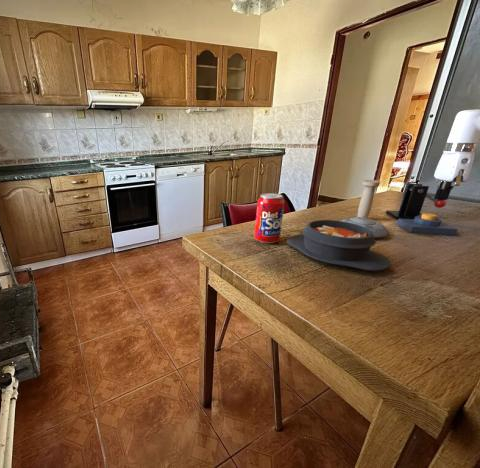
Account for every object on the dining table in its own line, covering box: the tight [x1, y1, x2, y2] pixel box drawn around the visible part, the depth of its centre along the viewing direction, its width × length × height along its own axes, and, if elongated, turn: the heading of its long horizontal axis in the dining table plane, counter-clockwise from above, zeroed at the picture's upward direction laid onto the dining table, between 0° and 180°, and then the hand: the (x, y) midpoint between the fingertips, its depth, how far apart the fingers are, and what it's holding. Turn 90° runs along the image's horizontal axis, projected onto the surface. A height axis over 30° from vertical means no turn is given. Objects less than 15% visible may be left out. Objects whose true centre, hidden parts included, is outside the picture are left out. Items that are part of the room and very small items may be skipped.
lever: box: [409, 185, 447, 209], centre depth 98 cm, size 13×3×3 cm
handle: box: [356, 179, 381, 218], centre depth 98 cm, size 5×6×15 cm
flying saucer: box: [340, 216, 390, 239], centre depth 87 cm, size 15×15×6 cm
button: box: [421, 212, 438, 220], centre depth 87 cm, size 4×4×2 cm
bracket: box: [385, 183, 430, 221], centre depth 100 cm, size 11×9×13 cm
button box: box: [396, 216, 459, 236], centre depth 88 cm, size 12×9×4 cm
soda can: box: [253, 192, 286, 245], centre depth 81 cm, size 8×8×15 cm
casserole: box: [286, 219, 392, 272], centre depth 71 cm, size 25×19×8 cm
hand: (440, 199), depth 97 cm, fingers closed
